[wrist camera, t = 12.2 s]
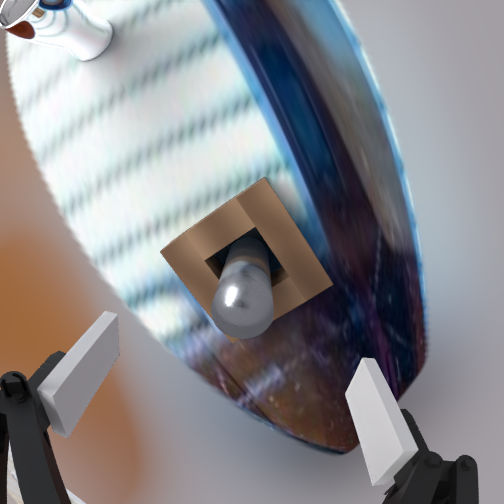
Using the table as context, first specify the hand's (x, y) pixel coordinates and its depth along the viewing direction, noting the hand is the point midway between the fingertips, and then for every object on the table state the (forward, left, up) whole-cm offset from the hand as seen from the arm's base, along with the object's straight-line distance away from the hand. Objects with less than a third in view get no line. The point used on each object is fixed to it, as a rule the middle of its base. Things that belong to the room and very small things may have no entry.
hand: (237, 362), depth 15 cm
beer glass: (+1, -34, -19) cm, 39 cm away
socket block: (0, 0, -19) cm, 19 cm away
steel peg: (0, 0, -19) cm, 19 cm away
